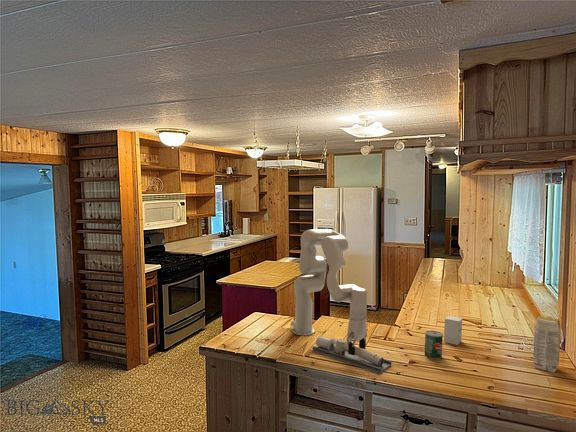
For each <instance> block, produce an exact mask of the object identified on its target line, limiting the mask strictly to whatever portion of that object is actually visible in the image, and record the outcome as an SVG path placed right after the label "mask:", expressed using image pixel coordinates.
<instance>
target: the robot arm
mask: <svg viewBox="0 0 576 432" xmlns="http://www.w3.org/2000/svg"><path fill="white" fill-rule="evenodd" d="M316 246H321V250H322V251H323V254H324V257H325V258H324V257H323V256H321V255H317V252H318V251H317V248H316ZM300 248H301V249H300V256H299V263H298V264H299V265H298V270H299V272H300V273H301V274H302V275H299V276H298V277H296V278H295V279H294V282H293V286H294V293H295V310H294V311H295V313H294V314H295V315H294V317H295V319H294V321H293V320H292V321H290V325H289V326H292V327H293V328H292V331H291V332H292V333H293V334H295V335H298V336H312V335H314V334H315V333H316V330H315V328H313V302H314V301H313V298H312V296H311V294H310V293H315V292H320V291H322V290H323V289H324V287H325V282H326V285H327V289H328V292H329V295H330V297H331V299H332V300H333V301H335V302H337V303H341V302H349V320H348V324H347V335H346V343H347V344H348V354H350V355H353V356H354V355H355V347H356V346H355V345H356V342H358V348H360V349H363V350H366V345H367V344H366V342H367V336H368V332H369V331H368V330H369V329H368V328H367V309H368V308H367V307H368V306H367V305H368V304H367V302H368V291H367V289H366V288H364V287H360V286H358V285H356V284H353V283H349V284H341V285H340V284H339V282H338V281H337V272H338V271H340V270H341V269H342V268H344V267H345V265H346V260H345V257H344V255H343V252H344V253H345V252H346V251H347V249H348V248H349V241H348V240H347V238H346V237H345V236H344V235H343V234H340V233H339V232H337V231H335V230H333V229H330V228H329V229H328V228H320V229H317V228H315V229H307V230H304V231H303V232H302V234H301V236H300ZM327 266H328V267H327ZM327 268H328V272H327ZM354 346H355V347H354Z"/></svg>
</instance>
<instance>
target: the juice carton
mask: <svg viewBox="0 0 576 432" xmlns="http://www.w3.org/2000/svg"><path fill="white" fill-rule="evenodd" d="M561 330H562V326H561V321H560V318H553V315H550V314H545V316H542V315H538V316H537V318H536V319H535V323H534V337H533V353H532V355H533V357H532V359H533V360H532V361H533V365H534V368H535V369H538V370H543V371H545V372H550V373H556V371H557V370H558V366H559V365H560V364H559V363H560V352H561V351H560V350H561V332H562V331H561Z"/></svg>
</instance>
